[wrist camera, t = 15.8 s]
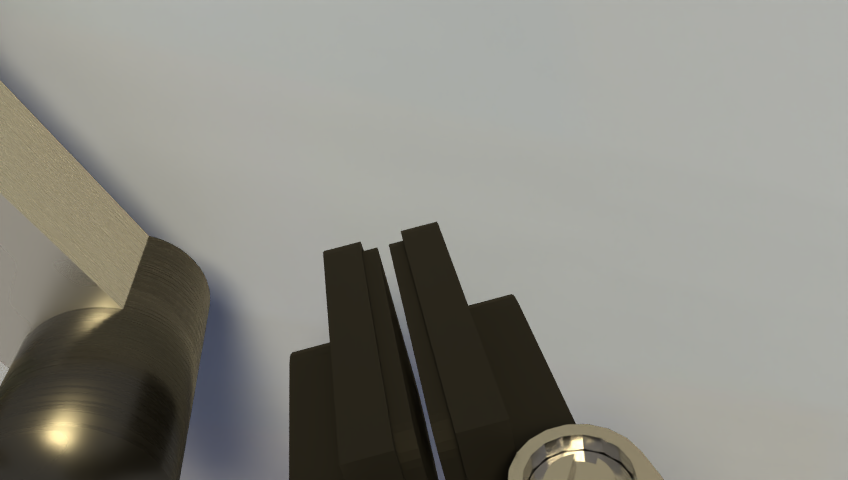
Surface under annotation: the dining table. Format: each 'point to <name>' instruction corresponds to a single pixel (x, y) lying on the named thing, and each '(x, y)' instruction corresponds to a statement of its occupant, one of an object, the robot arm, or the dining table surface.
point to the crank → (88, 322)
